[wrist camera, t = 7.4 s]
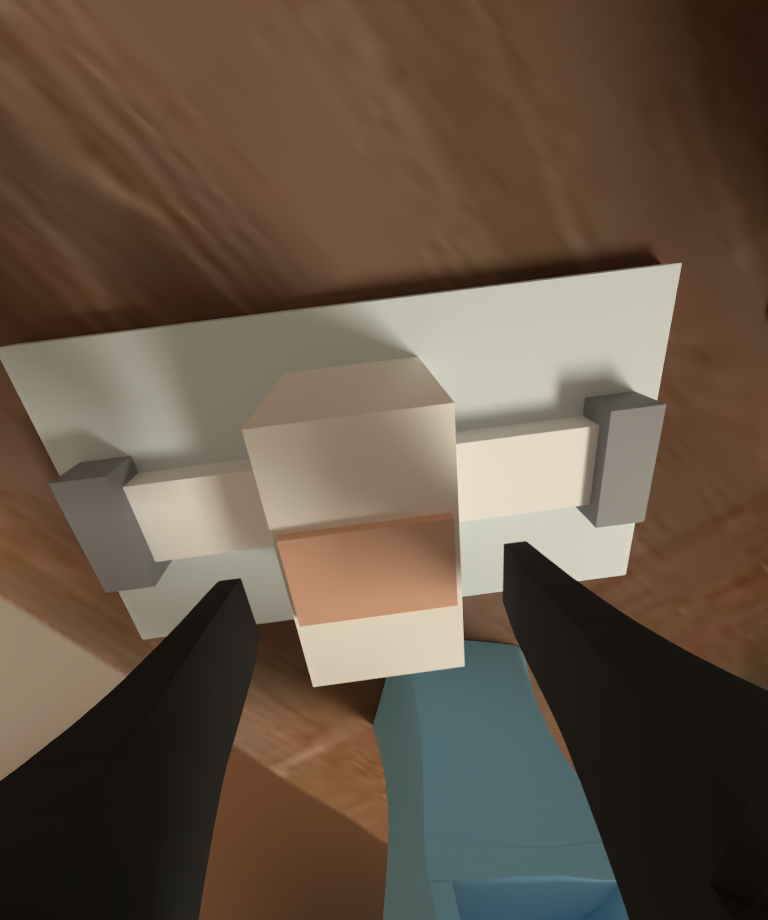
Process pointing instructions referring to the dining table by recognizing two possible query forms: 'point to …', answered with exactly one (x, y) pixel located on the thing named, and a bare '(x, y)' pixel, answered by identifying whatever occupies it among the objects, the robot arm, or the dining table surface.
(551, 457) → the rail board
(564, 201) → the dining table surface
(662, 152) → the dining table surface
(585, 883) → the vase
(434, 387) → the block
